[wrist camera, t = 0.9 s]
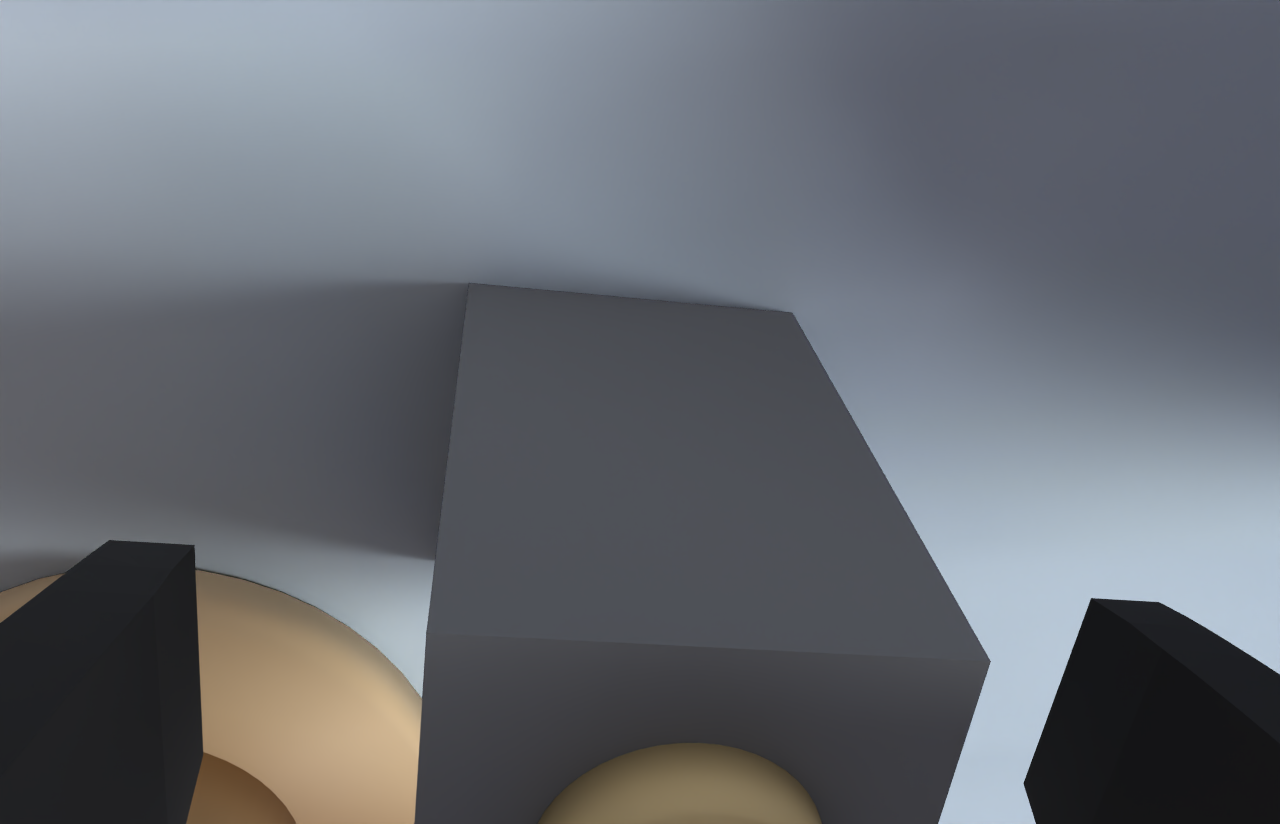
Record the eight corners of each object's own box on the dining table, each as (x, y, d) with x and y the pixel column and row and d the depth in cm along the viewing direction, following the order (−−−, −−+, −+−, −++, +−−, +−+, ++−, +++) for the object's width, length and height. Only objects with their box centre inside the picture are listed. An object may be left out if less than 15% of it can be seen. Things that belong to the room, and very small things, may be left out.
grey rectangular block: (738, 580, 14) (892, 1108, 8) (449, 563, 14) (392, 1112, 8) (792, 312, 13) (1026, 726, 7) (468, 283, 12) (419, 700, 6)
